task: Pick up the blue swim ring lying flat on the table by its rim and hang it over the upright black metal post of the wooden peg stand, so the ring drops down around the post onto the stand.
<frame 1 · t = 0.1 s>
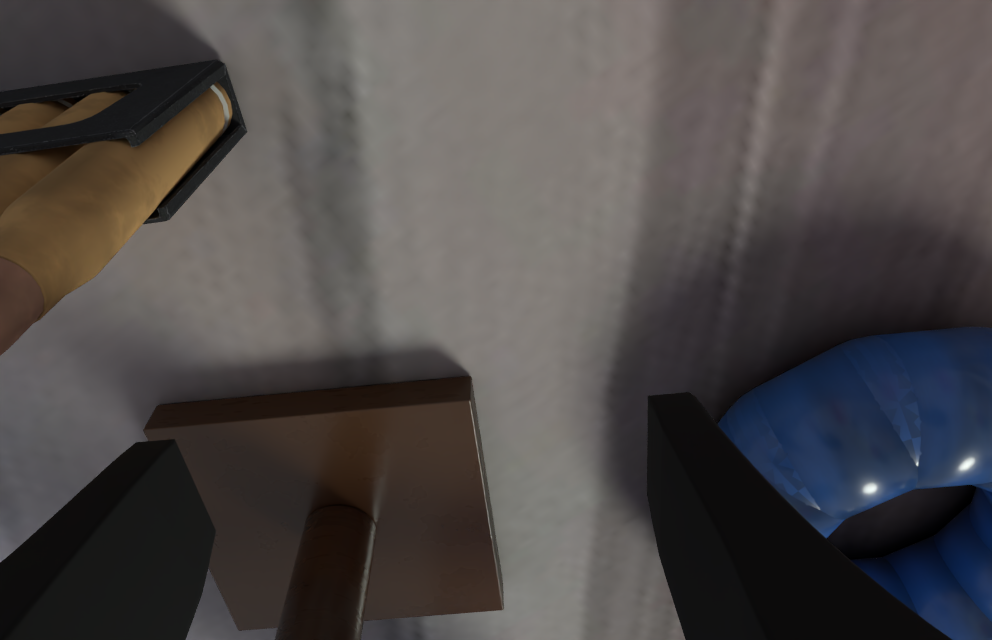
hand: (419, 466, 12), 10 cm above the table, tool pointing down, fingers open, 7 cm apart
blue swim ring: (895, 528, 24), point 2 cm above the table
ammunition clip: (35, 124, 19), on the table
wooden peg stand: (346, 502, 26), on the table
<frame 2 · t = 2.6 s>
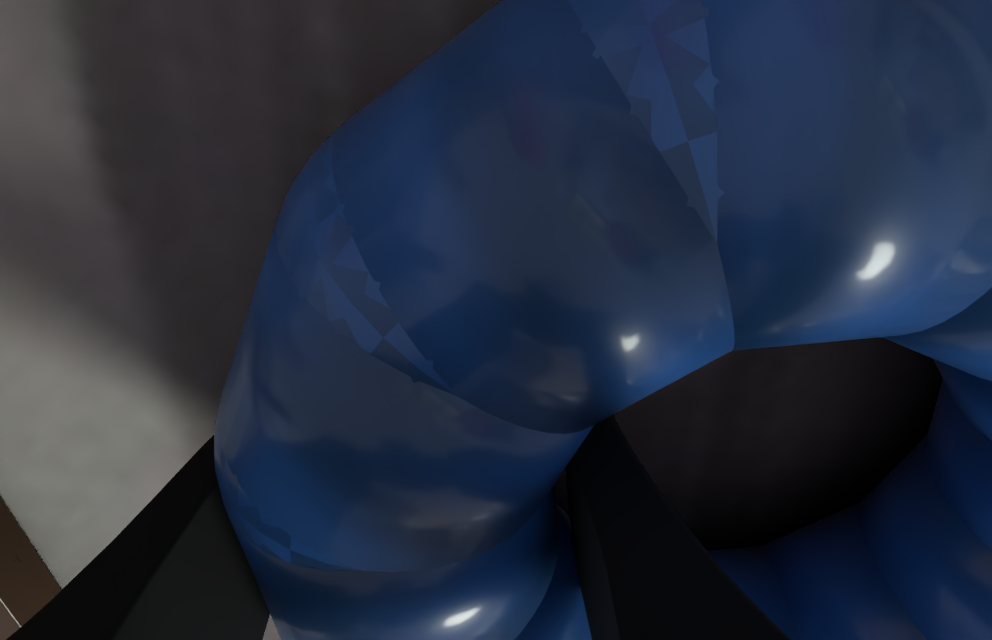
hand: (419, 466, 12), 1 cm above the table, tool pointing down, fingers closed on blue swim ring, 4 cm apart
blue swim ring: (752, 476, 11), point 2 cm above the table, touching gripper
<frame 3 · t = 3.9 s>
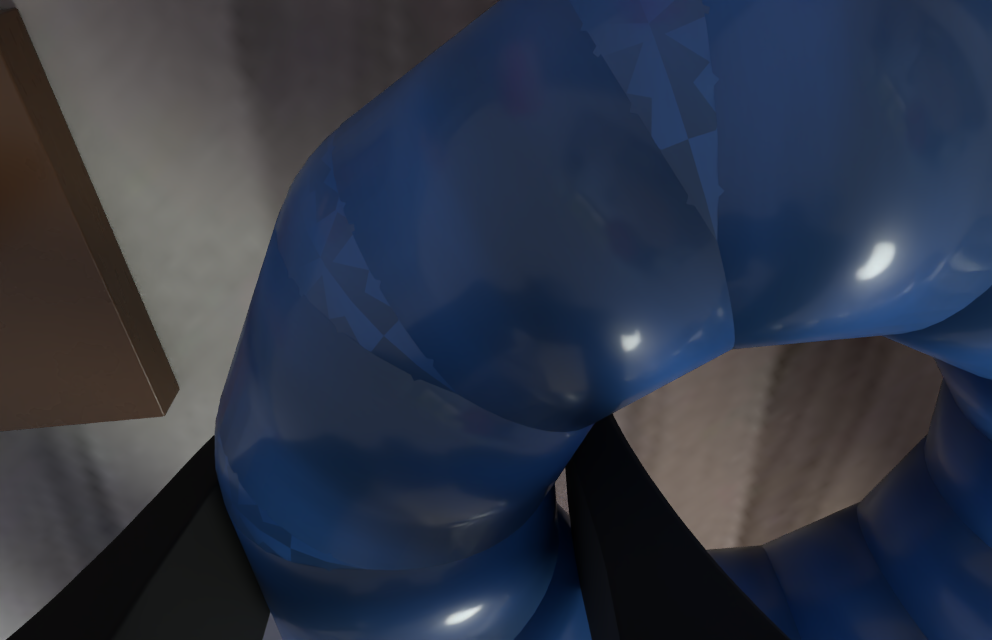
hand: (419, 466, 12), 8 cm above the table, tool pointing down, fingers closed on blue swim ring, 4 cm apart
blue swim ring: (752, 475, 11), point 9 cm above the table, touching gripper
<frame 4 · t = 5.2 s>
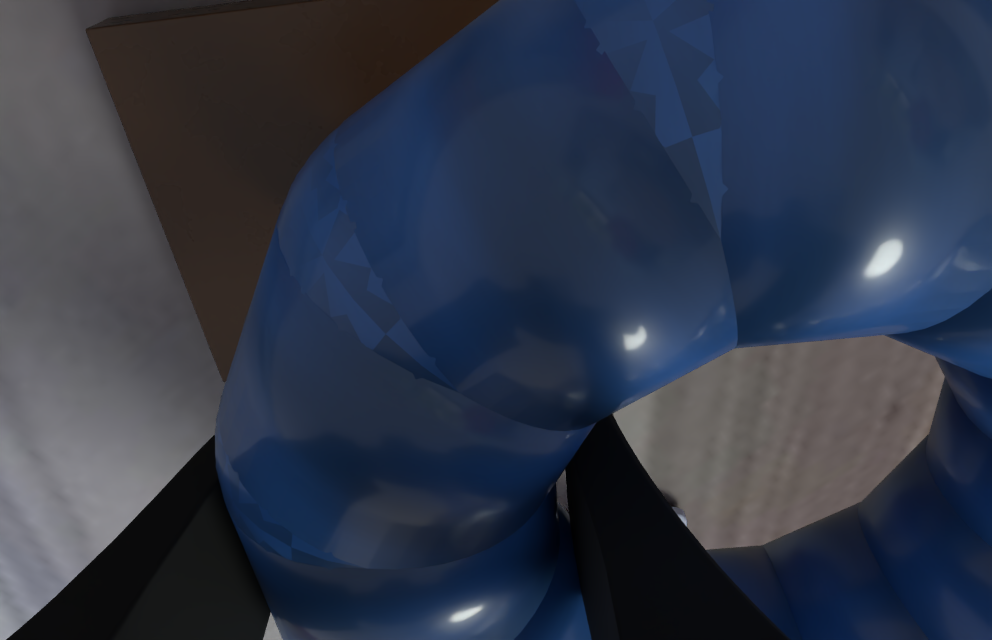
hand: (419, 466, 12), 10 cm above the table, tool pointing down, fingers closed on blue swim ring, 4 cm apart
blue swim ring: (753, 475, 11), point 11 cm above the table, touching gripper
wooden peg stand: (359, 190, 20), on the table
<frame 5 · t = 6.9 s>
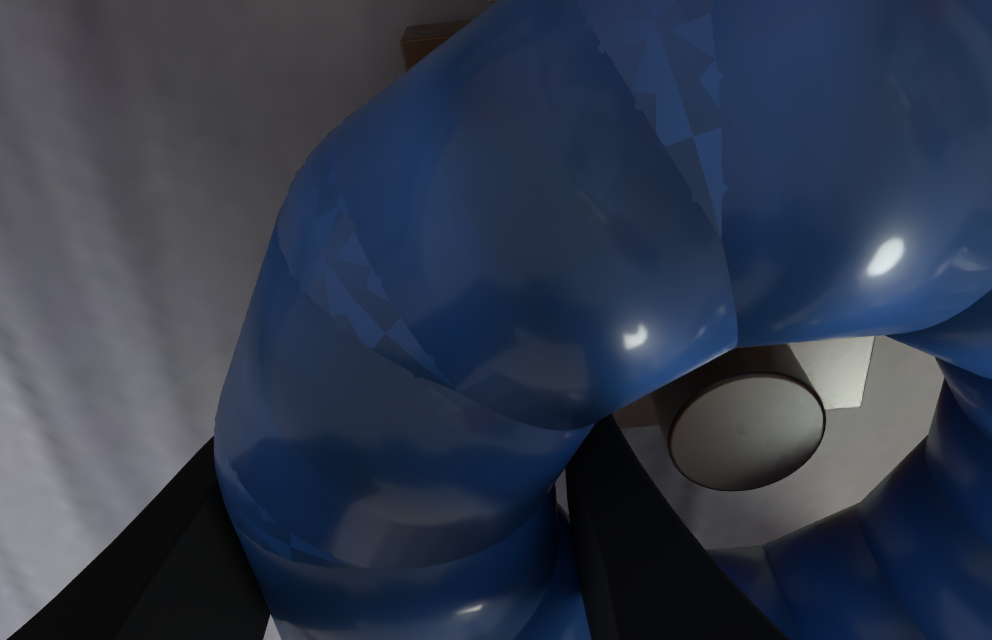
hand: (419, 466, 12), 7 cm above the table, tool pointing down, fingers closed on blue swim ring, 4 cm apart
blue swim ring: (753, 475, 11), point 8 cm above the table, touching gripper
wooden peg stand: (655, 227, 17), on the table
when the fingers open (5 cm above the table, at t = 8.1 s): blue swim ring drops 2 cm, resting on wooden peg stand.
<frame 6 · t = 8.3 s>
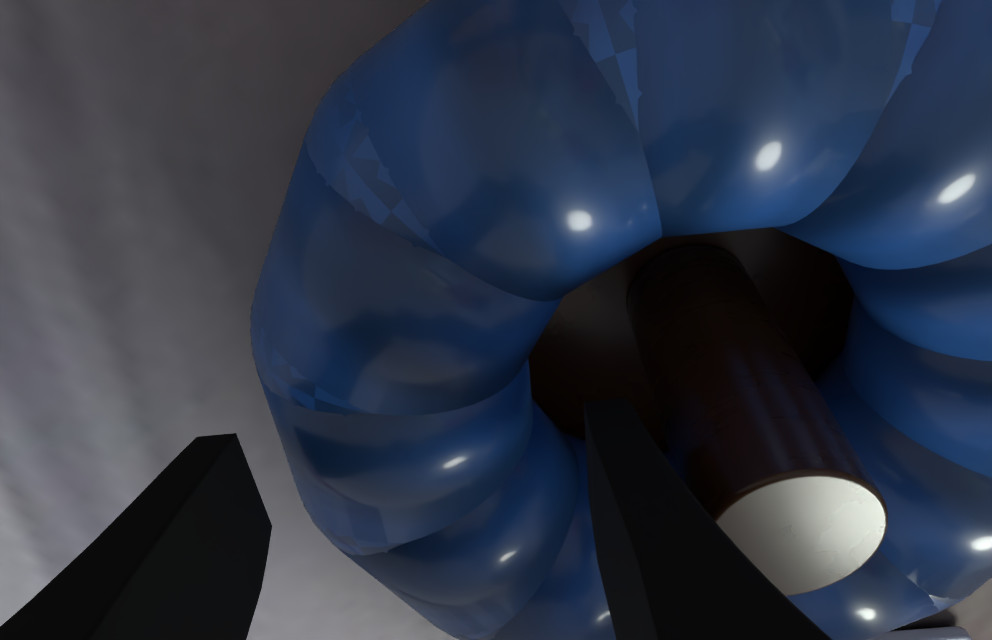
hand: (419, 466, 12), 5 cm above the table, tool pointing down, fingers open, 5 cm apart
blue swim ring: (693, 365, 13), point 3 cm above the table, touching wooden peg stand
wooden peg stand: (674, 268, 16), on the table
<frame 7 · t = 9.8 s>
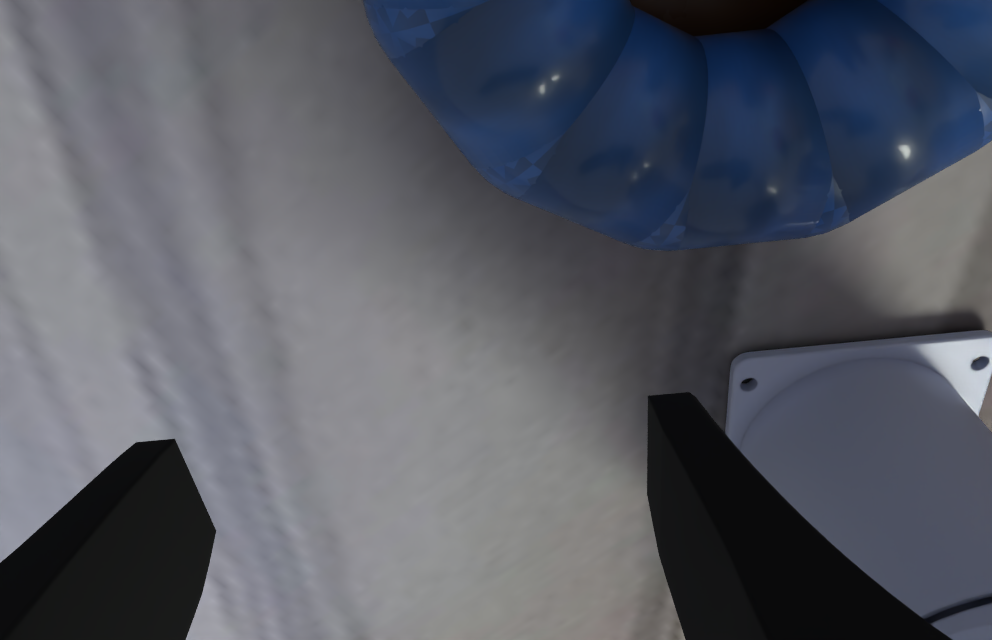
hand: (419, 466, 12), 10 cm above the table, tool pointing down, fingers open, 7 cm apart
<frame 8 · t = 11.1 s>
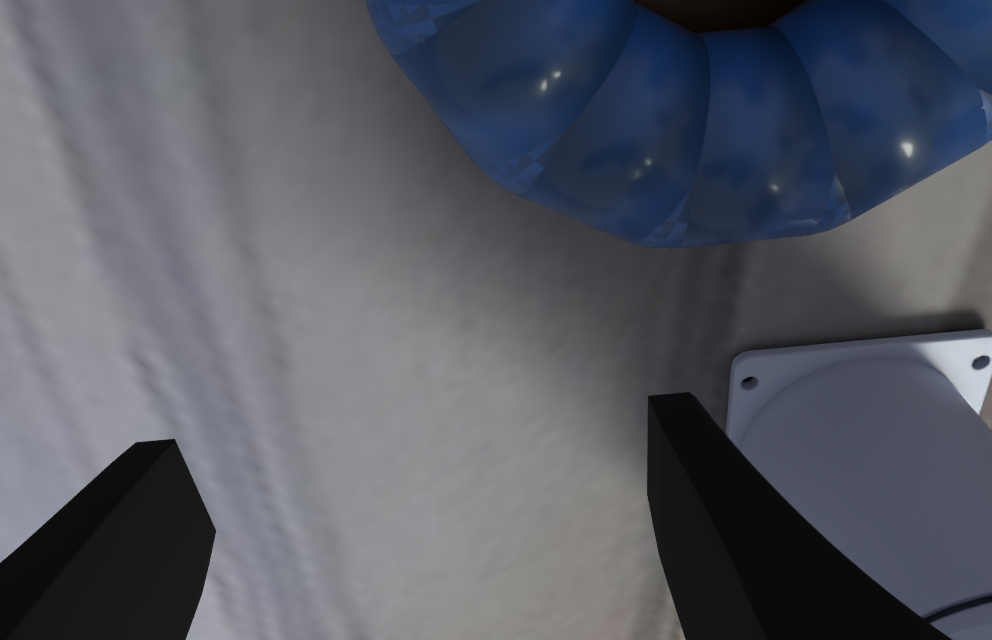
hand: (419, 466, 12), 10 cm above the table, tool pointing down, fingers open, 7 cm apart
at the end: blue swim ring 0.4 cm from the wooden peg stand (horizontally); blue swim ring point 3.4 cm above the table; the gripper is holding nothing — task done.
